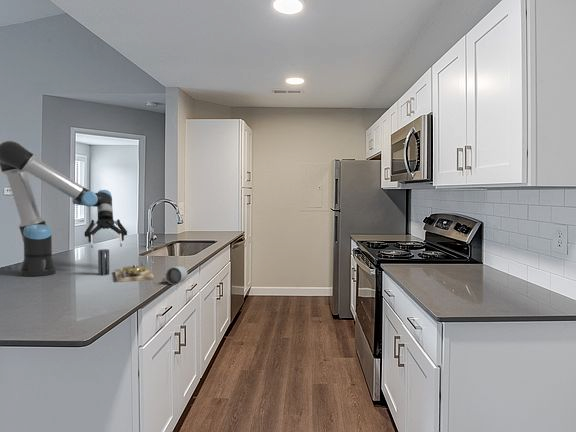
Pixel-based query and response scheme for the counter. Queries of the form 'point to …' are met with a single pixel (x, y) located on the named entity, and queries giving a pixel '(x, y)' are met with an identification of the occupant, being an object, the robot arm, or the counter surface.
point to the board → (123, 276)
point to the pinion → (103, 262)
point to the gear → (134, 269)
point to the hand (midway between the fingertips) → (106, 245)
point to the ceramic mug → (175, 275)
